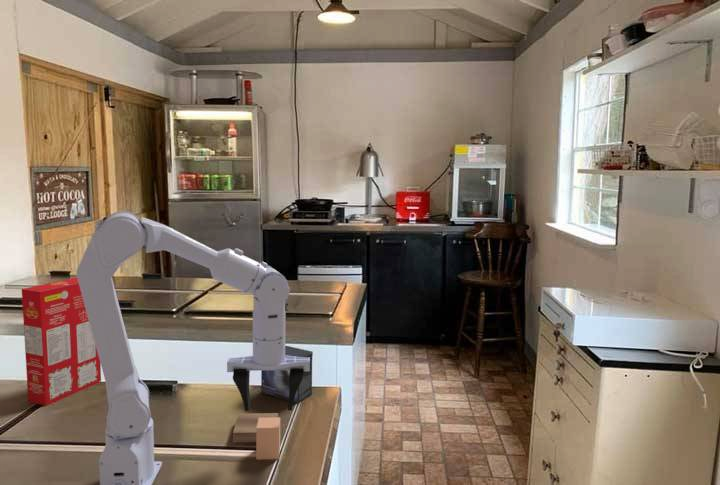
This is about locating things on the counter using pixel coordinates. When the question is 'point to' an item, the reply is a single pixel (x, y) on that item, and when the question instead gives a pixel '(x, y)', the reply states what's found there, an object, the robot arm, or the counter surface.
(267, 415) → the plinth
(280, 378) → the small box
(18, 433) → the counter surface
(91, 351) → the food packaging
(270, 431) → the block
